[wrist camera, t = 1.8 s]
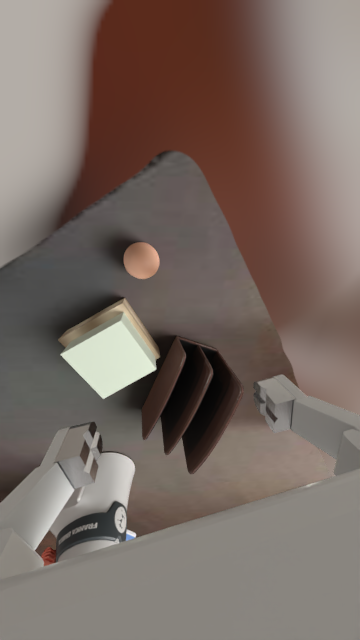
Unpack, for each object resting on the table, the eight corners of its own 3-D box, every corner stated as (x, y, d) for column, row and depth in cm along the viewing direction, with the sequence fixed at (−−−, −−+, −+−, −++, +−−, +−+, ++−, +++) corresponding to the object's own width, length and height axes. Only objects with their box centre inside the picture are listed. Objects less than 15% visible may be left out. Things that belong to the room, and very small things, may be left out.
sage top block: (107, 382, 34) (103, 398, 31) (70, 341, 30) (60, 354, 27) (155, 356, 34) (156, 369, 30) (123, 311, 30) (120, 320, 26)
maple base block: (107, 375, 38) (104, 388, 34) (67, 329, 33) (57, 339, 30) (158, 346, 38) (160, 357, 34) (124, 296, 33) (122, 302, 30)
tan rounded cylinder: (137, 280, 32) (136, 285, 28) (120, 252, 30) (116, 253, 26) (162, 265, 32) (165, 268, 28) (147, 237, 30) (147, 235, 26)
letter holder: (217, 348, 40) (252, 395, 27) (180, 416, 45) (194, 483, 32) (175, 334, 37) (192, 379, 24) (140, 409, 42) (139, 479, 29)
